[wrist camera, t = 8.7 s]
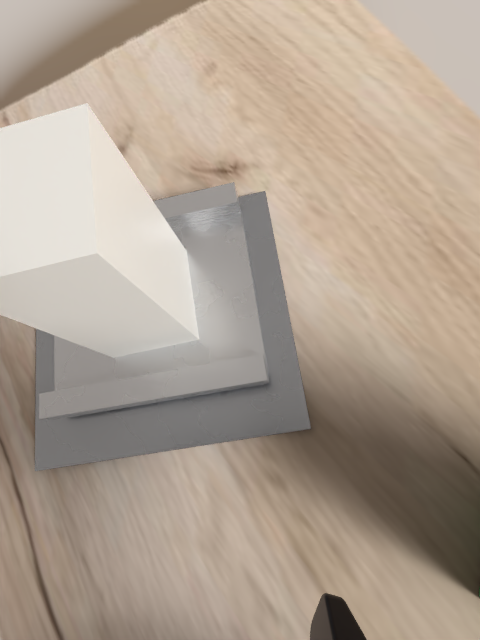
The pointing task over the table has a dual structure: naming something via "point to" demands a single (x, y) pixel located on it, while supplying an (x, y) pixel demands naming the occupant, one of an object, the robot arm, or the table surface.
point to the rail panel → (184, 353)
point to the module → (87, 241)
